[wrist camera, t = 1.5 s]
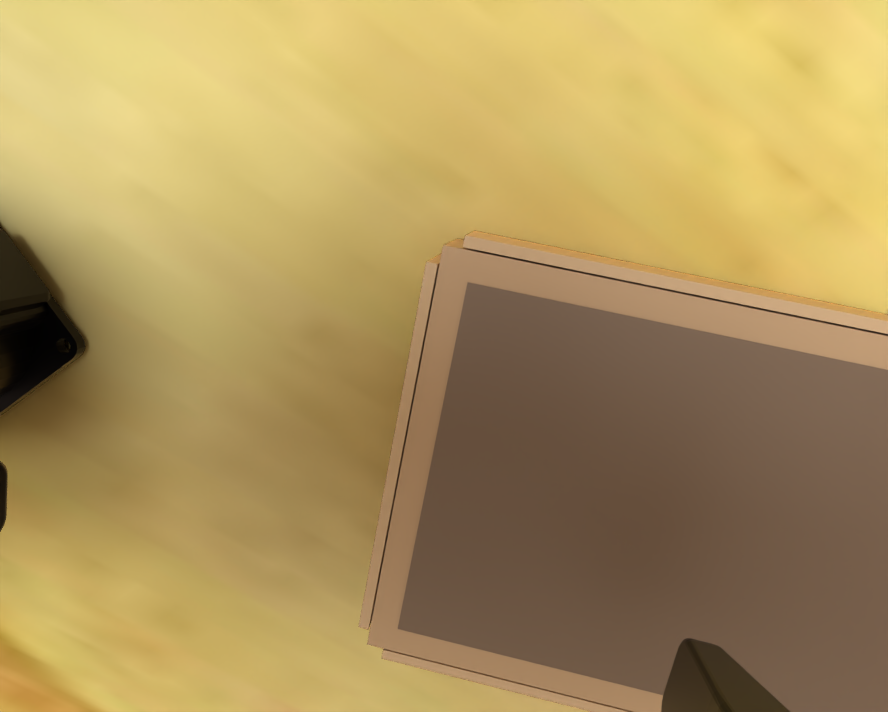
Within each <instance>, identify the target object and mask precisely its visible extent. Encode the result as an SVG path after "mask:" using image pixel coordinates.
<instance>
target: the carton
mask: <svg viewBox="0 0 888 712" xmlns="http://www.w3.org/2000/svg"><path fill="white" fill-rule="evenodd" d="M371 621H372V622H371ZM370 624H371V627H370V632H369V637H368V643H367V644H368V645H372V646H376V647H380V648H384V649H383V653H382V659H386V660H390V661H394V662H398V663H402V664H406V665H410V666H414V667H417V668H421V669H425V670H429V671H433V672H437V673H441V674H445V675H449V676H453V677H457V678H461V679H465V680H469V681H473V682H477V683H481V684H484V685H488V686H492V687H496V688H500V689H504V690H508V691H512V692H516V693H520V694H524V695H528V696H532V697H536V698H540V699H544V700H548V701H552V702H555V703H559V704H563V705H567V706H571V707H575V708H579V709H583V710H587V711H591V712H661V706H662V698H663V694H664V690H665V687H666V684H667V681H668V678H669V675H670V672H671V669H672V665H673V662H674V659H675V656H676V653H677V650H678V647H679V645H680V644H681V642H682V641H683V640H684V639H686V638H692V639H696V640H699V641H703V642H707V643H711V644H715V645H717V646H720V647H721V648H722V649H723V650H724V651H725V652H727V653H728V654H729V655H730V656H731V657H732V658H733V659H734V660H735V661H736V662H737V663H738V664H739V665H741V666H742V667H743V668H744V669H745V670H746V671H747V672H748V673H749V674H750V675H751V676H752V677H753V678H755V679H756V680H757V681H758V682H759V683H760V684H761V685H762V686H763V687H764V688H765V689H766V690H768V691H769V692H770V693H771V694H772V695H773V696H774V697H775V698H776V699H777V700H778V701H779V702H780V703H782V704H783V705H784V706H785V707H786V708H787V709H788V710H789V711H790V712H888V314H883V313H878V312H873V311H868V310H863V309H859V308H854V307H849V306H844V305H839V304H834V303H829V302H824V301H819V300H814V299H809V298H804V297H799V296H794V295H789V294H785V293H780V292H775V291H770V290H765V289H760V288H755V287H750V286H745V285H740V284H735V283H730V282H725V281H720V280H715V279H711V278H706V277H701V276H696V275H691V274H686V273H681V272H676V271H671V270H666V269H661V268H656V267H651V266H646V265H641V264H637V263H632V262H627V261H622V260H617V259H612V258H607V257H602V256H597V255H592V254H587V253H582V252H577V251H572V250H567V249H563V248H558V247H553V246H548V245H543V244H538V243H533V242H528V241H523V240H518V239H513V238H508V237H503V236H498V235H493V234H489V233H484V232H479V231H473V232H471V233H469V234H467V235H465V238H464V240H462V239H455V240H453V241H451V242H449V243H447V244H444V245H443V249H442V253H441V254H439V255H437V256H435V257H434V258H432V259H430V260H428V261H427V262H426V266H425V271H424V277H423V282H422V287H421V293H420V298H419V304H418V309H417V314H416V320H415V325H414V330H413V336H412V341H411V347H410V352H409V357H408V363H407V368H406V374H405V379H404V384H403V390H402V395H401V401H400V406H399V411H398V417H397V422H396V428H395V433H394V438H393V444H392V449H391V455H390V460H389V465H388V471H387V476H386V482H385V487H384V492H383V498H382V503H381V509H380V514H379V519H378V525H377V530H376V535H375V541H374V546H373V552H372V557H371V562H370V568H369V573H368V579H367V584H366V589H365V595H364V600H363V606H362V611H361V616H360V622H359V627H360V628H364V629H369V626H370Z"/></svg>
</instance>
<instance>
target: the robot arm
mask: <svg viewBox="0 0 888 712" xmlns="http://www.w3.org/2000/svg"><path fill="white" fill-rule="evenodd" d="M65 339H66V340H67V341H68V342H69V344H70V350H68V349H67V348H66V347H65V345H64V340H65ZM84 349H85V342H84V339H83V337H82V336H81V334H80V333H79V332H78V330H77V329H76V328H75V326H74V325H73V324H72V322H71V321H70V320H69V318H68V317H67V316H66V314H65V313H64V312H63V310H62V309H61V308H60V306H59V305H58V304H57V302H56V301H55V300H54V298H53V297H52V296H51V294H50V293H49V290H48V288H47V287H46V286H45V284H44V283H43V282H42V280H41V279H40V278H39V276H38V275H37V274H36V272H35V271H34V270H33V268H32V267H31V266H30V264H29V263H28V262H27V260H26V259H25V258H24V256H23V255H22V254H21V252H20V251H19V250H18V248H17V247H16V246H15V244H14V243H13V242H12V240H11V239H10V238H9V236H8V235H7V234H6V232H5V231H4V230H2V229H1V227H0V416H1V415H2V414H3V413H5V412H6V411H7V410H9V409H10V408H11V407H13V406H14V405H15V404H17V403H18V402H19V401H21V400H22V399H23V398H25V397H26V396H27V395H29V394H30V393H31V392H33V391H34V390H35V389H37V388H38V387H39V386H41V385H42V384H43V383H45V382H46V381H48V380H49V379H50V378H52V377H53V376H54V375H56V374H57V373H58V372H60V371H61V370H62V369H64V368H65V367H66V366H68V365H69V364H70V363H72V362H73V361H74V360H76V359H77V358H78V357H80V356H81V355H82V354H83V352H84ZM6 510H7V469H6V467H5V465H4V464H3V463H2V462H1V461H0V532H1V530H2V528H3V526H4V524H5V520H6ZM661 712H790V711H789V710H788V709H787V708H786V707H785V706H784V705H783V704H782V703H780V702H779V701H778V700H777V699H776V698H775V697H774V696H773V695H772V694H771V693H770V692H769V691H768V690H766V689H765V688H764V687H763V686H762V685H761V684H760V683H759V682H758V681H757V680H756V679H755V678H753V677H752V676H751V675H750V674H749V673H748V672H747V671H746V670H745V669H744V668H743V667H742V666H741V665H739V664H738V663H737V662H736V661H735V660H734V659H733V658H732V657H731V656H730V655H729V654H728V653H727V652H725V651H724V650H723V649H722V648H721V647H720V646H717V645H715V644H711V643H707V642H703V641H699V640H696V639H692V638H686V639H684V640H683V641H682V642H681V644H680V645H679V647H678V650H677V653H676V656H675V659H674V662H673V665H672V669H671V672H670V675H669V678H668V681H667V684H666V687H665V690H664V694H663V698H662V706H661Z"/></svg>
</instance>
